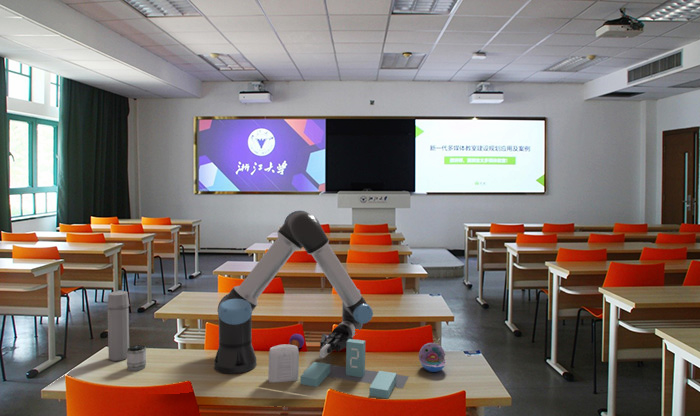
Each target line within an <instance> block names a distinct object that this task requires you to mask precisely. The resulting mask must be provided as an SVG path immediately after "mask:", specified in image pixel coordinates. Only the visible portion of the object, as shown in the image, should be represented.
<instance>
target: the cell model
mask: <svg viewBox="0 0 700 416" xmlns="http://www.w3.org/2000/svg"><path fill="white" fill-rule="evenodd" d="M446 355H447V353H445V350H444V348H443V346H441V345H440V344H438V343H434V342H428V343H426V344H424V345H422V346H421V348H420V350H419V352H418V360H419V363H420V364H421V366H422V368H423V369H425V370H426V371H428V372H430V373H437V372H440V371H442V370H443V369H445V366H446V364H447V360H446V359H445V357H446Z"/></svg>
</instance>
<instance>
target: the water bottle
mask: <svg viewBox="0 0 700 416" xmlns="http://www.w3.org/2000/svg"><path fill="white" fill-rule="evenodd" d="M107 295H108V297H107V305H106V308H107V347H108V348H107V349H108V359H109V360H110V361H113V362H120V361H124V360H127V349H128V348H129V347H130V322H129V321H130V320H129V315H130V314H129V307H130V305H131V304H130V300H129V294H128V291H125V290H117V291H111V292H109V293H108V294H107Z"/></svg>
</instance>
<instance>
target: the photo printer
mask: <svg viewBox="0 0 700 416" xmlns="http://www.w3.org/2000/svg"><path fill="white" fill-rule="evenodd" d="M299 352H300V351H299V349H298V347H297V346H294V345H290V344H289V343H288V344H278V345H274V346H272V347H270V348H269V352H268V375H267V376H268V382H269V383H283V382H294V381H298V380H299V370H300V369H299V367H300V366H299V363H300V354H299Z"/></svg>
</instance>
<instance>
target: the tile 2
mask: <svg viewBox="0 0 700 416" xmlns="http://www.w3.org/2000/svg"><path fill="white" fill-rule="evenodd" d="M345 349H346V351H345V353H346V354H345V355H346V358H345V362H346V363H345V367H346V375H350V376H356V377H363V376H364V375H365V370H366V340H363V339H362V340H361V339H354V338H353V339H349V340H348V341H347V343H346V347H345Z"/></svg>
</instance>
